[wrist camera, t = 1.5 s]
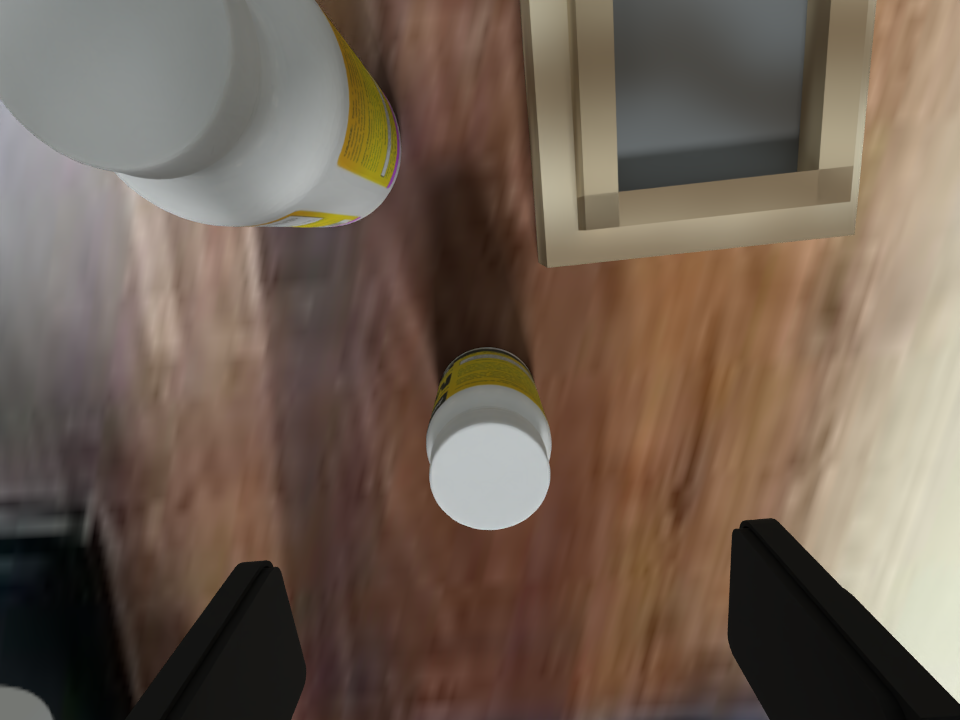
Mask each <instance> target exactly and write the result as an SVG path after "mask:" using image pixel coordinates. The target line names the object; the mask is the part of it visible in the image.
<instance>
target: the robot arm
mask: <svg viewBox="0 0 960 720" xmlns="http://www.w3.org/2000/svg"><path fill="white" fill-rule="evenodd" d="M728 641H729V645H730V649H731V651H732V654H733V656H734V658H735V659H736V661H737V663H738V665H739V666H740V668H741V670H742V672H743V673H744V675H745V677H746V679H747V680H748V682H749V684H750V686H751V687H752V689H753V691H754V693H755V694H756V696H757V698H758V700H759V701H760V703H761V705H762V707H763V709H764V710H765V712H766V714H767V716H768V717H769V719H770V720H960V704H959V703H958V702H957V701H956V700H955V699H954V698H953V697H952V696H951V695H950V694H949V693H948V692H947V691H946V690H945V689H944V688H943V687H942V686H941V685H940V684H939V683H938V682H937V681H936V680H935V679H934V678H933V677H932V676H931V675H930V674H929V672H928V671H927V670H926V669H925V668H924V667H923V666H922V665H921V664H920V663H919V662H918V661H917V660H916V659H915V658H914V657H913V656H912V655H911V654H910V653H909V652H908V651H907V650H906V649H905V648H904V647H903V646H902V645H901V644H900V643H899V642H898V641H897V640H896V639H895V638H894V637H893V636H892V635H891V634H890V633H889V632H888V631H887V630H886V629H885V628H884V627H883V626H882V625H881V624H880V623H879V622H878V621H877V620H876V619H875V617H874V616H873V615H872V614H871V613H870V612H869V611H868V610H867V609H866V608H865V607H864V606H863V605H862V604H861V603H860V602H859V601H858V600H857V599H856V598H855V597H854V596H853V595H852V594H850V593H849V592H848V591H847V590H846V589H844V588H842V587H841V586H840V585H839V584H838V583H837V581H836V580H835V579H834V578H833V577H832V576H831V575H830V574H829V573H828V572H827V571H826V570H825V569H824V568H823V567H822V566H821V565H820V564H819V563H818V562H817V561H816V560H815V559H814V558H813V557H812V556H811V555H810V554H809V553H808V552H807V551H806V550H805V549H804V548H803V547H802V546H801V545H800V544H799V542H798V541H797V540H796V539H795V538H794V537H793V536H792V535H791V534H790V533H789V532H788V531H787V530H786V529H785V528H784V527H783V526H782V525H781V524H780V523H779V522H778V521H777V520H775V519H772V518H769V519H757V520H745V521H742V522H741V524H740V529H734V530H733V533H732V547H731V570H730V592H729V614H728ZM305 680H306V665H305V661H304V657H303V653H302V650H301V646H300V642H299V638H298V634H297V631H296V627H295V623H294V619H293V615H292V612H291V608H290V604H289V600H288V596H287V593H286V589H285V585H284V581H283V577H282V573H281V571H280V569H279V568H278V567H273V565H272V563H271V562H270V561H267V560H266V561H254V562H242V563H240V564H238V565H237V566H236V567H235V568H234V570H233V571H232V573H231V574H230V575H229V577H228V578H227V580H226V581H225V582H224V584H223V585H222V586H221V588H220V589H219V591H218V592H217V593H216V595H215V596H214V597H213V599H212V600H211V602H210V603H209V604H208V606H207V607H206V608H205V610H204V611H203V613H202V614H201V615H200V617H199V618H198V620H197V621H196V622H195V624H194V625H193V626H192V628H191V629H190V631H189V632H188V633H187V635H186V636H185V637H184V639H183V640H182V642H181V643H180V644H179V646H178V647H177V649H176V650H175V651H174V653H173V654H172V655H171V657H170V658H169V660H168V661H167V662H166V664H165V665H164V666H163V668H162V669H161V671H160V672H159V673H158V675H157V676H156V678H155V679H154V680H153V682H152V683H151V684H150V686H149V687H148V689H147V690H146V691H145V693H144V694H143V695H142V697H141V698H140V700H139V701H138V702H137V704H136V705H135V706H134V708H133V709H132V711H131V712H130V713H129V715H128V716H127V718H126V719H125V720H291V718H292V716H293V713H294V711H295V708H296V706H297V703H298V701H299V698H300V695H301V693H302V690H303V688H304V684H305Z"/></svg>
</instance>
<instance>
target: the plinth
mask: <svg viewBox="0 0 960 720" xmlns="http://www.w3.org/2000/svg"><path fill="white" fill-rule="evenodd" d="M875 11H876V0H520V13H521V27H522V40H523V54H524V68H525V82H526V95H527V109H528V123H529V136H530V150H531V164H532V177H533V191H534V205H535V219H536V232H537V246H538V260H539V263H540V264H542V265H544V266H545V267H547V268H550V267H559V266H568V265H578V264H587V263H596V262H606V261H615V260H624V259H634V258H643V257H652V256H662V255H671V254H680V253H690V252H699V251H708V250H718V249H727V248H736V247H745V246H755V245H764V244H773V243H783V242H792V241H801V240H811V239H820V238H829V237H839V236H848V235H854V234H855V224H856V213H857V203H858V192H859V181H860V171H861V160H862V149H863V139H864V128H865V117H866V107H867V96H868V85H869V75H870V64H871V54H872V43H873V32H874V22H875Z"/></svg>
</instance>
